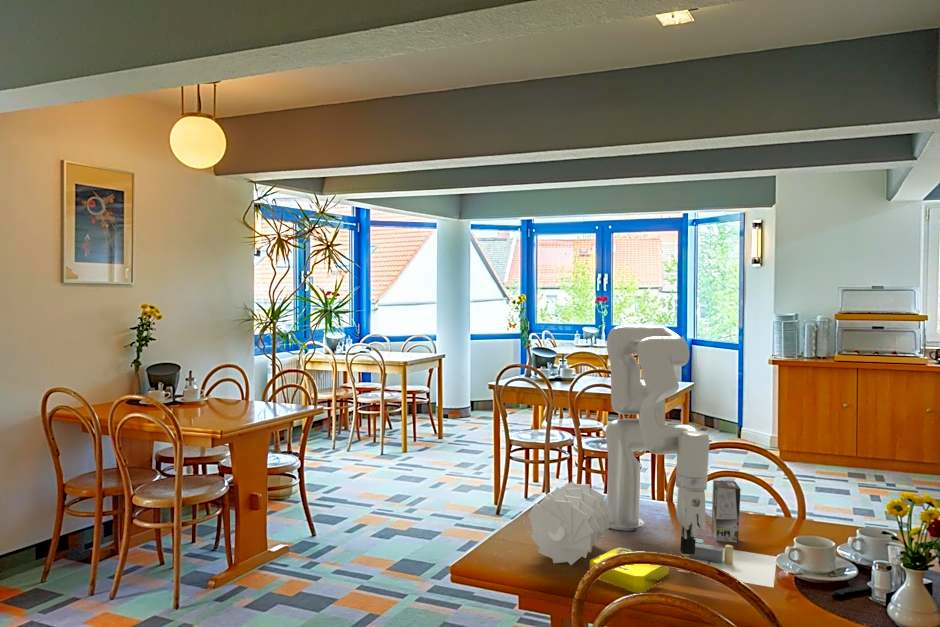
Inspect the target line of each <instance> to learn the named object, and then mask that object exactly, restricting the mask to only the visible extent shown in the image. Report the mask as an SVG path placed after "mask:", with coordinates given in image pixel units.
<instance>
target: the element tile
mask: <svg viewBox="0 0 940 627" xmlns="http://www.w3.org/2000/svg"><path fill="white" fill-rule="evenodd" d="M635 551H636V550H632V549H629V548H624V547H621V546H619V547H616V548H613V549H611V550H609V551H606V552H604V553H601V554H599V555H597V556H595V557H593V558H590V560H589V564H588V565H589V566H588V567H589V568H588V569H590V568H592V567H593V566H594V565H595V564H597V563H598V562H600V561H601V560H603V559H605V558H607V557H609V556H612V555H616V554H620V553H625V552H635ZM669 571H670V566H669V567H665V566H659V565H650V564H634V565H625V566H620V567H617V568H615V569H612V570H610V571H608V572H606V573H605V574H603V575H602V576H601V577H600V579H601V580H605V581H608V582H610V583H613V584H616V585H618V586H621V587H623V588H625V589H626V591H629V592H632V593H636V594H639V593H638V592H644V593H646V592H648V591H649V589H650V588H651V587H652V586H654V585H655V584H657V583H659V582H660V581H661V579H662V578H664V577H666V576H668V575H669V574H670V572H669ZM625 589H624V590H625ZM647 590H648V591H647ZM650 590H651V589H650Z"/></svg>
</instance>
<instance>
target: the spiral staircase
mask: <svg viewBox="0 0 940 627" xmlns="http://www.w3.org/2000/svg"><path fill="white" fill-rule="evenodd" d="M604 497H605V495H604V494H602V493H600V492H599V491H598V490H595V489H594V488H592V487H591V485H590V484H587V483H584V484H583V483H581V484H580V483H575V482H574V481H572V480H571V481H570V482H569V483H567V484H566V485H563V486H562V487H559V486H556V487H555V489H554V491H553V493H552V494H551V493H549V492H547V493H546V496H544V498H543V499H542V500H541V502H540V504H538V503H537V502H535V503H534V504H533V507H532V508H531V509H530V512H529V514H528V516H527V517H528V518H529V519H530V523H531V528H532V532H531V533H530V535H529V536H530V537H531V539H532V540H533V541H534V543H535V544H536V545H537V546H538V548H539V549H538V552H537V553H538V554H541V555H543V556H545V557H547V558H550V559H552V564H560V563H568V564H569V565H570V566H572V565H573V564H575V563H576V562H577V561H578V560H579V559H580V558H585V559H586V558H587V557H588V553H590V554H591V553H592V550H593V549H594V547H596V546H597V540H599V541H601V540H602V536H604V537H606V534H607V530H609V529H610V528H609V516H608V514H609V513H610V512H611V511H610V509H609V508H608V506H607V502H606V501H605V499H604Z"/></svg>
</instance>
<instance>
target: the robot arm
mask: <svg viewBox="0 0 940 627" xmlns="http://www.w3.org/2000/svg"><path fill="white" fill-rule="evenodd" d="M606 349H607V350H606V351H607V356H608V359H609V363H610V371H611V372H610V402H611V403H610V404H611V408H612V410H613V411H614V412H615V413H617V414H619V415H638V418H618V419H613V420H612V421H610V422H609V423H608V424H606V428H605V442H606V448H607V482H606V483H607V485H606V487H607V488H606V489H607V490H606V504H607V506H608V508H609V509H610V511H611V512H610V513H609V514H608V516H609V529H612V530H615V531H616V530H617V531H628V532H630V531H633V532H634V531H637V530H638V528H640V527H645V522H644V520H643V519H641V518H640V497H641V496H640V493H641V465H640V462H639V460H638V459H637V458H636V456H635V454H634V452H640V451H641V452H643V451H645V452H646V451H647V452H648V451H649V452H650V454H654V455H660V456H661V455H676V468H675V469H676V470H675V487H676V488H678V489H677V499H676V519H677V520H678V521H679V523H680V525H681V526H680V535H681V536H680V549H679V550H680V553H681V552H682V554H695V540H696V539H697V537H698V528H699V529H700V531H705V530H706V494H705V492H706V491H707V489H708V487H707V486H708V473H709V472H708V470H709V454H710V453H709V452H710V437H709V436H708V434H706V433H705V432H702V431H698V430H697V428H695V427H694V426H693V425H689V424H666V399H667V398H669V397H672V396H673V395H674V394H676V393H677V392H678V390H679V388H680V384H679V381H678V378H677V373H676V371H675V367H678V368H679V367H681V368H682V367H683V366H685V365H686V364H688V363H689V360H690V348H689V345H688V344H687V341H686V340H685V339H684V338H683V337H682V336H680V335H679V334H677V333H676V332H675V331H673V330H671V329H669V328H668V327H666V326H663V325H657V324H655V325H654V324H653V325H651V324H650V325H649V324H647V325H646V324H624V325H623V324H622V325H618V326H615V327H613V328H611V330H610V331H609V333H608V335H607V339H606ZM634 355H637V358H638V361H637V358H636V357H635V356H634ZM641 374H642V378H643V382H642V381H641Z"/></svg>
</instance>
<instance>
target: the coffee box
mask: <svg viewBox="0 0 940 627" xmlns="http://www.w3.org/2000/svg"><path fill="white" fill-rule="evenodd" d="M741 489H742V488H740V486H739V485H738V484H737V482H736V481H735V480H714V479H713V480H712V501H711V502H712V504H711V506H712V508H711V537H712V538H713V539H714V540H715V541H717V542H725V543H726V542H728V543H739V534H740V533H739V532H740V531H739V530H740V509H741V508H740V506H741V491H742V490H741Z"/></svg>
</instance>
